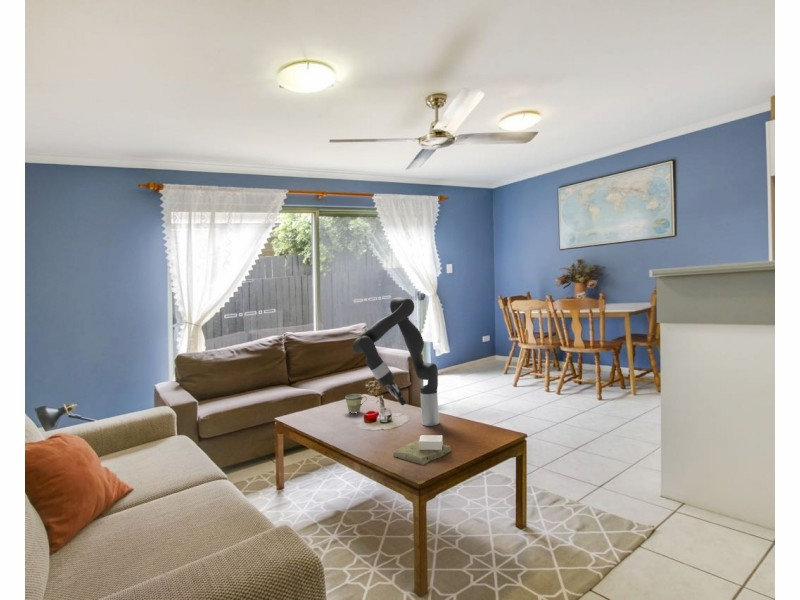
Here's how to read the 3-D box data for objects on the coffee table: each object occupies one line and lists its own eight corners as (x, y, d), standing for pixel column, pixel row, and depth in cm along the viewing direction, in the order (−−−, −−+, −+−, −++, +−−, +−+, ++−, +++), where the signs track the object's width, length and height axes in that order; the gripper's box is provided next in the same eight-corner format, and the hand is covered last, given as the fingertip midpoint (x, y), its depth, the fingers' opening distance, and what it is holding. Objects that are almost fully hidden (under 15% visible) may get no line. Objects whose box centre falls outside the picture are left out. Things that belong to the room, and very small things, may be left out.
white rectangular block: (420, 435, 203) (442, 435, 201) (421, 443, 203) (442, 443, 202) (418, 441, 195) (441, 441, 193) (419, 450, 195) (441, 450, 194)
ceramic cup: (345, 415, 265) (344, 398, 265) (347, 410, 275) (346, 394, 275) (366, 413, 265) (366, 397, 265) (367, 409, 275) (367, 393, 275)
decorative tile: (392, 457, 197) (392, 449, 197) (420, 444, 212) (420, 436, 212) (425, 467, 185) (424, 459, 185) (452, 452, 200) (452, 444, 200)
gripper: (393, 369, 199) (414, 400, 200) (385, 369, 211) (405, 398, 212) (380, 379, 196) (402, 410, 197) (372, 378, 209) (393, 408, 210)
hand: (403, 404), depth 205 cm, fingers closed
